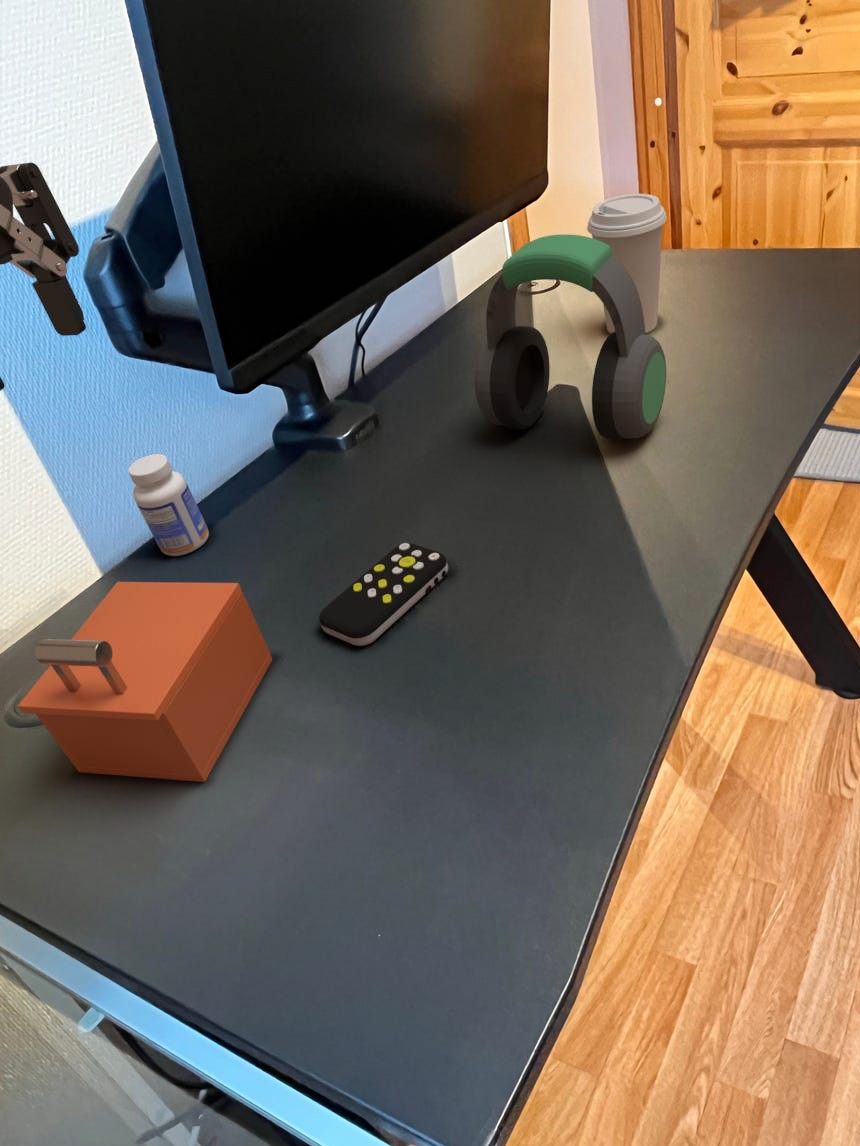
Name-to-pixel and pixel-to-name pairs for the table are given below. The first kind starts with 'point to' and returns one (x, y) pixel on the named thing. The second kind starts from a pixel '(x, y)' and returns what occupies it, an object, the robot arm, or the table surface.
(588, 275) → the headphones
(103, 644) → the box lid
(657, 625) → the table surface
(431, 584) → the remote control
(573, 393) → the table surface
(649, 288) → the coffee cup
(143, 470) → the pill bottle
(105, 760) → the orange lidded box
